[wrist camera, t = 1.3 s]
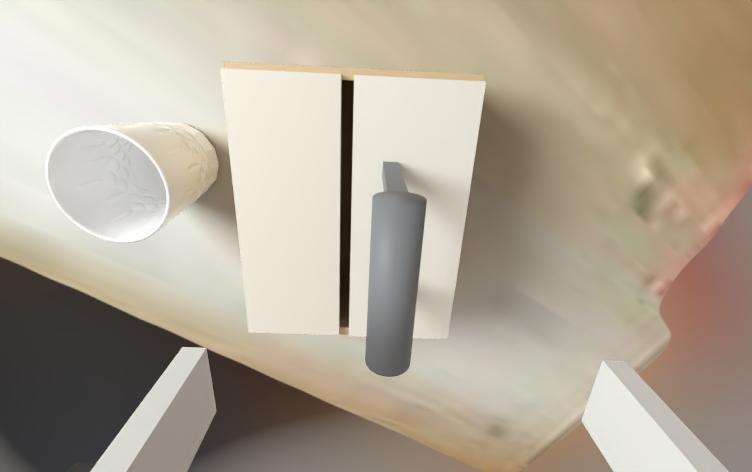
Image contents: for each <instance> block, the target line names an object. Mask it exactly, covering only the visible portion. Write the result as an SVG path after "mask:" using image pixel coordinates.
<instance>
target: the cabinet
mask: <svg viewBox="0 0 752 472" xmlns="http://www.w3.org/2000/svg"><path fill="white" fill-rule="evenodd" d="M223 65H224V68H220V72H221V81H222V91H223V100H224V109H225V118H226V127H227V137H228V146H229V155H230V164H231V174H232V183H233V192H234V201H235V210H236V220H237V229H238V238H239V247H240V256H241V266H242V275H243V284H244V293H245V303H246V312H247V321H248V330H249V332H254V333H287V334H319V335H339V334H342V335H349V300H350V251H351V203H352V154H353V105H354V75H368V76H388V77H408V78H427V79H447V80H467V81H483V77H484V75H482V74H463V73H443V72H423V71H403V70H384V69H364V68H344V67H325V66H305V65H285V64H265V63H246V62H226V61H223Z"/></svg>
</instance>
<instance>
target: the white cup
mask: <svg viewBox="0 0 752 472" xmlns="http://www.w3.org/2000/svg"><path fill="white" fill-rule="evenodd" d="M218 167H219V162H218V159H217V155H216V152H215V149H214V147H213V145H212V144H211V143H210V142H209V140H208V139H207V138H206V137H205V135H204V134H203V133H202V132H200V131H198V130H196V129H195V128H193V127H191V126H189V125H188V124H185V123H175V122H144V123H124V124H112V125H98V126H85V127H79V128H75V129H72V130H70V131H68V132H66V133H64V134H63V135H61V136H60V137H59V138H58V139H57V140H56V141H55V142H54V143H53V145H52V146H51V148H50V150H49V152H48V155H47V159H46V166H45V172H46V180H47V184H48V187H49V190H50V192H51V195H52V197H53V199H54V200H55V202H56V204H57V205H58V207H59V208H60V209H61V211H62V212H63V213H64V214H65V215H66V216H67V217H68V218H69V219H70V220H71V221H72V222H73V223H74V224H75V225H77V226H78V227H79V228H81V229H82V230H84V231H86V232H87V233H89V234H91V235H93V236H95V237H98V238H101V239H104V240H107V241H111V242H118V243H131V242H137V241H141V240H144V239H146V238H148V237H150V236H152V235H153V234H155V233H156V232H157V231H159V230H160V229H161V228H162V227H164V226H165V225H166V224H167V223H169V222H170V221H171V220H173V219H174V218H175V217H177V216H178V215H179V214H180V213H182V212H183V211H184V210H186V209H187V208H188V207H189V206H190V205H191V204H193V203H194V202H195V201H196V200H197V199H198V198H199V197H200V196H201V195H202V194H204V193H205V192H206V191H207V190H208V189H209V188H210V187H211V185H212V184H213V183H214V182H215V180H216V179H217V173H218Z"/></svg>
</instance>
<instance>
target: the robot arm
mask: <svg viewBox="0 0 752 472" xmlns="http://www.w3.org/2000/svg"><path fill="white" fill-rule="evenodd" d="M215 413H216V405H215V400H214V393H213V387H212V381H211V374H210V369H209V362H208V355H207V349H206V348H193V347H191V348H190V347H182V349H181V350H180V352H179V353H178V354H177V355H176V357H175V358H174V359H173V361H172V362H171V363H170V365H169V366H168V367H167V369H166V370H165V371H164V373H163V374H162V376H161V377H160V378H159V380H158V381H157V382H156V384H155V385H154V386H153V388H152V389H151V390H150V392H149V393H148V395H147V396H146V397H145V398H144V400H143V401H142V403H141V404H140V405H139V407H138V408H137V409H136V411H135V412H134V413H133V415H132V416H131V417H130V419H129V420H128V422H127V423H126V424H125V425H124V427H123V428H122V430H121V431H120V432H119V434H118V435H117V436H116V438H115V439H114V440H113V442H112V443H111V444H110V446H109V447H108V448H107V450H106V451H105V452H104V454H103V455H102V456H101V458H100V459H99V460H98V462H97V463H83V462H77V463H76V464H74V465H73V466H72V467H70V468H69V469H68V470H67V471H65V472H187V470H188V468H189V466H190V464H191V462H192V460H193V458H194V456H195V454H196V451H197V450H198V448H199V446H200V444H201V442H202V439H203V438H204V435H205V433H206V431H207V429H208V427H209V425H210V423H211V421H212V419H213V417H214V415H215ZM581 421H582V422H583V424H584V426H585V427H586V429H587V430H588V432H589V434H590V435H591V437H592V438H593V440H594V441H595V443H596V444H597V446H598V448H599V449H600V451H601V453H602V454H603V456H604V457H605V459H606V460H607V462H608V464H609V465H610V467H611V468H612V470H613V471H614V472H728V470H727V469H726V468H725V467H724V466H723V465H722V464H721V463H720V462H719V461H718V460H717V459H716V458H715V457H714V455H713V454H712V453H711V452H710V451H709V450H708V449H707V448H706V447H705V446H704V445H703V444H702V443H701V442H700V440H699V439H698V438H697V437H696V436H695V435H694V434H693V433H692V432H691V431H690V430H689V429H688V428H687V426H686V425H685V424H684V423H682V421H681V420H680V419H679V418H678V417H677V416H676V415H675V414H674V413H673V412H672V410H670V409H669V407H668V406H667V405H666V404H665V403H664V402H663V401H662V400H661V399H660V398H659V397H658V396H657V394H656V393H655V392H654V391H653V390H652V389H651V388H650V387H649V386H648V385H647V384H646V383H645V382H644V381H643V379H641V377H640V376H639V375H638V374H637V373H636V372H635V371H634V370H633V369H632V368H631V367H630V366H629V364H628V363H627V362H626V361H615V360H602V363H601V366H600V369H599V372H598V375H597V378H596V380H595V383H594V386H593V389H592V392H591V395H590V398H589V400H588V403H587V406H586V409H585V412H584V415H583V418H582V420H581Z"/></svg>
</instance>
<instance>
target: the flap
mask: <svg viewBox="0 0 752 472" xmlns="http://www.w3.org/2000/svg"><path fill="white" fill-rule="evenodd" d="M485 86H486V81H467V80H447V79H427V78H408V77H388V76H368V75H354V105H353V154H352V203H351V251H350V300H349V336H359V337H366V356H365V361H366V365H367V366H368V368H369V369H370V370H371V371H372V372H374V373H376V374H378V375H381V376H387V377H393V376H398V375H401V374H403V373H404V372H405V371H407V369H408V368H409V366H410V359H411V350H412V340H413V338H424V339H448V334H449V327H450V320H451V314H452V307H453V300H454V294H455V287H456V280H457V273H458V267H459V260H460V253H461V247H462V240H463V233H464V227H465V220H466V213H467V206H468V200H469V193H470V186H471V180H472V173H473V166H474V160H475V153H476V146H477V139H478V133H479V126H480V119H481V113H482V106H483V99H484V93H485Z"/></svg>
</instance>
